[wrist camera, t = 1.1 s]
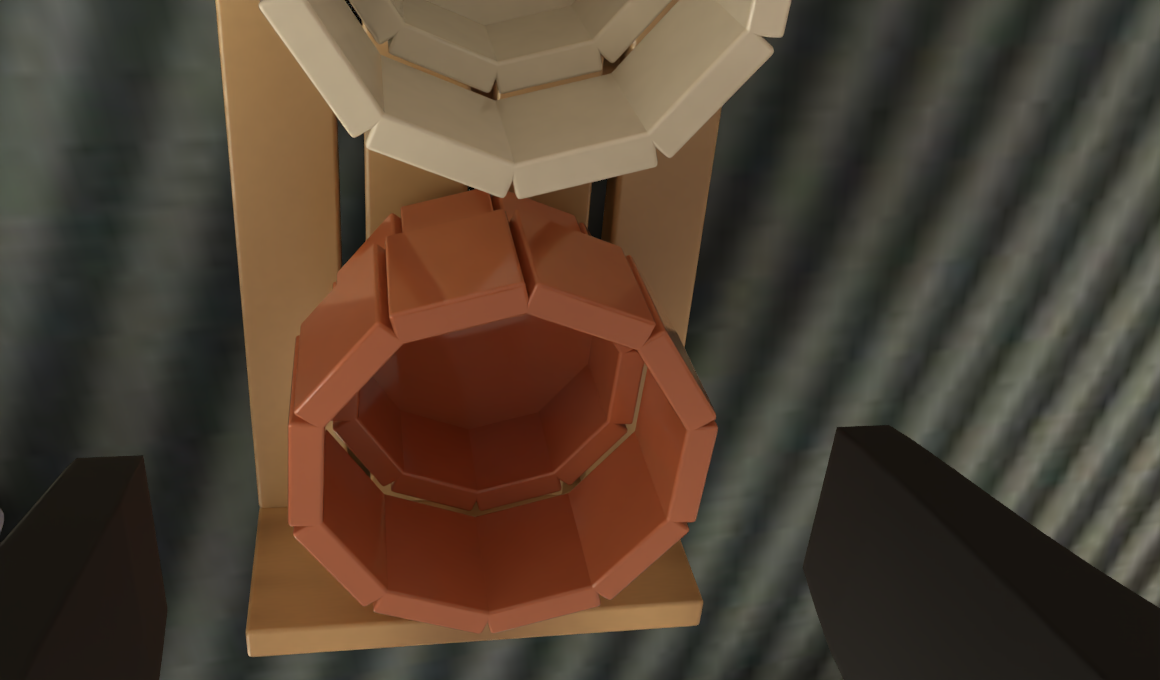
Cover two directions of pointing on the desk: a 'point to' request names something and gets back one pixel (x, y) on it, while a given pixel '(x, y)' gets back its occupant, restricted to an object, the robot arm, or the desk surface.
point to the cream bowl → (527, 80)
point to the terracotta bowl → (491, 418)
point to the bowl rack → (305, 277)
